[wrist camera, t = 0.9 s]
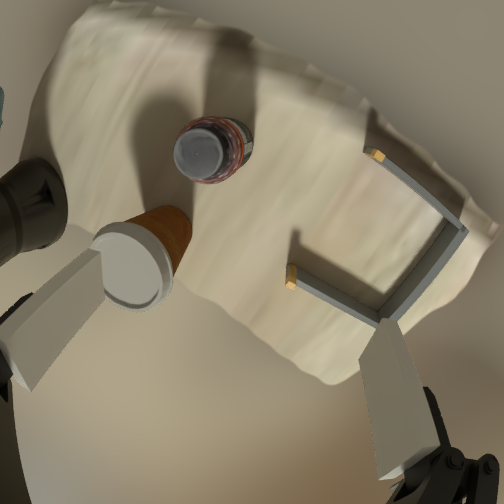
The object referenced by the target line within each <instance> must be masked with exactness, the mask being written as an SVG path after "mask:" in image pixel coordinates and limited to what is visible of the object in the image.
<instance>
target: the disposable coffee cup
mask: <svg viewBox="0 0 504 504" xmlns="http://www.w3.org/2000/svg"><path fill="white" fill-rule="evenodd" d="M191 238H192V227H191V223H190V221H189V219H188V217H187V216H186V215H185V214H184V213H183V212H182V211H181V210H179V209H178V208H175V207H172V206H161V207H159V208H156V209H154V210H151V211H149V212H146V213H143V214H141V215H139V216H136V217H134V218H131V219H129V220H126V221H124V222H113V223H111V224H108V225H106V226H104V227H103V228H101V229H100V230H99V231H98V232H97V234H96V236H95V237H94V239H93V242H92V244H91V246H90V249H92V250H96V251H99V252H101V263H102V275H103V285H104V294H105V298H107V299H108V300H109V301H110V302H111V303H113V304H114V305H116V306H118V307H120V308H122V309H124V310H127V311H132V312H143V311H146V310H149V309H151V308H154V307H156V306H158V305H160V304H161V303H162V302H164V301H165V300H166V299H167V297H168V296H169V294H170V292H171V289H172V285H173V277H174V274H175V272H176V270H177V268H178V266H179V263H180V261H181V259H182V257H183V255H184V253H185V251H186V249H187V247H188V244H189V242H190V240H191Z"/></svg>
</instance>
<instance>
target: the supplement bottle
mask: <svg viewBox="0 0 504 504" xmlns="http://www.w3.org/2000/svg"><path fill="white" fill-rule="evenodd" d="M252 150H253V138H252V135H251V133H250V131H249V130H248V128H247V127H246V126H245V125H244V124H242V123H241V122H239V121H237V120H234V119H231V118H223V117H212V116H211V117H201V118H198V119H195V120H193V121H191V122H190V123H188V124H187V125H186V126H185V127H184V128H183V129H182V130H181V132H180V134H179V135H178V138H177V140H176V143H175V145H174V150H173V158H174V162H175V164H176V166H177V168H178V169H179V171H180V172H181V173H182V174H184V175H185V176H187V177H188V178H190V179H191V180H193V181H195V182H198V183H202V184H215V183H219V182H221V181H224V180H226V179H227V178H229V177H230V176H231V175H232V174H234V173H235V172H236V171H237V170H238V169H239V168H240V167H242V166H243V165H244V164H245V163H246V162H247V161H248V159H249V157H250V156H251V153H252Z"/></svg>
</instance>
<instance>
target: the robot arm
mask: <svg viewBox="0 0 504 504" xmlns="http://www.w3.org/2000/svg"><path fill="white" fill-rule="evenodd" d="M3 102H4V92H3V89H2V88H1V87H0V127H1V125H2V122H3V121H2V119H1V118H2V110H3ZM66 223H67V201H66V196H65V191H64V188H63V185H62V183H61V180H60V178H59V176H58V174H57V173H56V171H55V170H54V168H53V167H52V166H51V165H50V164H49V163H48V162H46V161H45V160H43V159H41V158H30V159H26V160H23V161H21V162H19V163H18V164H16V165H15V166H14V167H13V168H12V169H11V170H10V171H8V172H7V173H6V174H5V175H4V176H2V177H1V178H0V267H1V266H2V265H3V264H5V263H6V262H8V261H9V260H10V259H12V258H13V257H14V256H16V255H17V254H19V253H22V252H28V251H32V250H36V249H44V248H47V247H49V246H50V245H52V244H53V243H55V242H56V241H58V240H59V239H60V238H61V236H62V235H63V233H64V230H65V227H66ZM104 300H105V294H104V285H103V275H102V263H101V252H99V251H96V250H92V249H89V248H88V249H87V250H86V251H84V252H83V253H82V254H80V255H79V256H78V257H77V258H76V259H74V260H73V261H72V262H71V263H69V264H68V265H67V266H66V267H64V268H63V269H62V270H61V271H60V272H58V273H57V274H56V275H55V276H54V277H52V278H51V279H50V280H49V281H48V282H47V283H45V284H44V285H43V286H42V287H41V288H40V289H39V290H37V291H36V292H35V293H32V292H31V293H29V294H27V295H25V296H23V297H21V298H20V299H19V300H18V301H17V302H16V303H15V304H14V306H11V307H10V308H9V309H8V311H6V312H5V313H4V314H3V315H2V316H1V317H0V504H32V503H31V500H30V497H29V493H28V489H27V486H26V482H25V478H24V474H23V469H22V465H21V460H20V455H19V449H18V443H17V436H16V429H15V420H14V411H13V395H12V382H11V380H10V378H11V377H12V375H14V377H15V378H16V380H17V382H18V383H19V384H20V385H21V386H23V387H24V388H26V389H27V390H29V391H30V392H32V390H33V389H34V388H35V386H36V385H37V384H38V382H39V380H40V379H41V378H42V377H43V375H44V374H45V372H46V371H47V370H48V368H49V367H50V366H51V365H52V363H53V362H54V361H55V359H56V358H57V357H58V356H59V354H60V353H61V352H62V350H63V349H64V348H65V347H66V345H67V344H68V343H69V342H70V340H71V339H72V338H73V337H74V335H75V334H76V333H77V332H78V331H79V329H80V328H81V327H82V326H83V324H84V323H85V322H86V321H87V320H88V319H89V317H90V316H91V315H92V314H93V313H94V311H95V310H96V309H97V308H98V307H99V306H100V304H101V303H102V302H103V301H104ZM358 360H359V364H360V369H361V373H362V379H363V384H364V389H365V395H366V400H367V406H368V411H369V417H370V423H371V430H372V437H373V444H374V451H375V459H376V466H377V476H378V480H383V479H392V478H395V477H397V476H399V475H400V474H402V473H403V472H404V475H405V478H404V479H402V480H401V481H399V482H398V483H396V484H394V485H393V486H391V488H390V490H392V489H394V488H396V487H397V488H396V490H395V491H394V493H393V494H392V496H391V497H390V499H389V500H388V502H387V503H386V504H462V500H463V498H465V497H467V499H466V503H465V504H496V502H497V494H498V485H499V471H500V469H499V463H498V460H497V459H496V457H495V456H494V455H492V454H485V455H483V456H482V457H481V458H479V459H478V460H473V459H467V458H465V457H464V455H463V453H462V452H461V451H460V450H459V449H457V448H454V447H451V445H450V442H449V438H448V435H447V431H446V428H445V425H444V422H443V419H442V417H441V413H440V410H439V408H438V404H437V401H436V398H435V396H434V394H433V393H432V392H431V390H430V389H429V388H428V387H422V384H421V381H420V379H419V376H418V373H417V370H416V368H415V365H414V363H413V360H412V357H411V355H410V352H409V350H408V347H407V345H406V342H405V340H404V337H403V335H402V333H401V330H400V328H399V325H398V323H397V321H396V320H393V319H387V318H382V319H381V321H380V323H379V325H378V327H377V329H376V330H375V332H374V334H373V336H372V338H371V339H370V341H369V343H368V344H367V346H366V348H365V350H364V351H363V353H362V355H361V356H360V358H359V359H358Z"/></svg>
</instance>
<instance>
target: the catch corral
mask: <svg viewBox="0 0 504 504" xmlns="http://www.w3.org/2000/svg"><path fill="white" fill-rule="evenodd" d="M363 152H364V153H365V154H366V155H368V156H369V157H371V158H372V159H373V160H375V161H376V162H378V163H379V164H380V165H382V166H383V167H384V168H386V169H387V170H388V171H390V172H391V173H392V174H394V175H395V176H396V177H397V178H399V179H400V180H401V181H403V182H404V183H405V184H406V185H408V186H409V187H410V188H411V189H412V190H414V191H415V192H416V193H417V194H418V195H420V196H421V197H422V198H423V199H424V200H426V201H427V202H428V203H429V204H430V205H431V206H432V207H434V208H435V209H436V210H437V211H438V212H439V213H440V214H441V215H442V216H444V217H445V218H446V219H447V220H448V221H449V222H448V223H447V225H446V226H445V228H444V229H443V231H442V232H441V234H440V235H439V236H438V238H437V239H436V241H435V242H434V243H433V245H432V246H431V247H430V249H429V250H428V251H427V253H426V254H425V255H424V257H423V258H422V259H421V261H420V262H419V263H418V265H417V266H416V267H415V268H414V270H413V271H412V272H411V273H410V275H409V276H408V277H407V278H406V280H405V281H404V282H403V283H402V284H401V286H400V287H399V288H398V289H397V290H396V292H395V293H394V294H393V295H392V296H391V297H390V299H389V300H388V301H387V302H386V303H385V304H384V305H383V306H382V308H381V309H380V310H379V311H378V312H376V311H374V310H372V309H371V308H369V307H367V306H365V305H364V304H362V303H360V302H358V301H357V300H355V299H353V298H351V297H350V296H348V295H346V294H344V293H343V292H341V291H339V290H337V289H335V288H334V287H332V286H330V285H328V284H327V283H325V282H323V281H321V280H319V279H318V278H316V277H314V276H312V275H311V274H309V273H307V272H305V271H303V270H302V269H300V268H298V267H296V266H295V265H293V264H291V263H289V264H288V266H287V267H286V280H285V286H286V287H287V288H289V289H291V290H293V289H294V288H295V287H296V286H298V287H300V288H301V289H303V290H305V291H307V292H309V293H311V294H313V295H314V296H316V297H318V298H320V299H322V300H324V301H326V302H327V303H329V304H331V305H333V306H335V307H337V308H339V309H340V310H342V311H344V312H346V313H348V314H350V315H352V316H353V317H355V318H357V319H359V320H361V321H363V322H365V323H367V324H368V325H370V326H372V327H374V328H376V329H377V327H378V325H379V323H380V321H381V319H382V318H387V319H393V320H396V321H398V320H399V319H400V318H401V317H402V316H403V315H404V314H405V313H406V312H407V310H408V309H409V308H410V307H411V306H412V305H413V304H414V303H415V301H416V300H417V299H418V298H419V297H420V296H421V294H422V293H423V292H424V291H425V290H426V289H427V287H428V286H429V285H430V284H431V282H432V281H433V280H434V279H435V278H436V276H437V275H438V274H439V272H440V271H441V270H442V269H443V267H444V266H445V265H446V263H447V262H448V261H449V259H450V258H451V257H452V255H453V254H454V253H455V251H456V250H457V249H458V247H459V246H460V244H461V243H462V242H463V240H464V239H465V237H466V236H467V234H468V233H469V230H468V229H467V228H466V227H465V226H464V225H463V224H462V223H461V222H460V221H459V220H458V219H457V218H456V217H455V216H454V215H453V214H452V213H451V212H450V211H449V210H448V209H447V208H446V207H444V206H443V205H442V204H441V203H440V202H439V201H438V200H437V199H436V198H435V197H434V196H432V195H431V194H430V193H429V192H428V191H427V190H426V189H424V188H423V187H422V186H421V185H420V184H419V183H417V182H416V181H415V180H414V179H413V178H411V177H410V176H409V175H408V174H406V173H405V172H404V171H403V170H401V169H400V168H399V167H398V166H396V165H395V164H394V163H393V162H391V161H390V160H389V159H387V158H386V157H385V155H384V154H383V153H381V152H380V151H379V150H377V149H374V148H370V147H367V146H366V148H365V150H364V151H363Z"/></svg>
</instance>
